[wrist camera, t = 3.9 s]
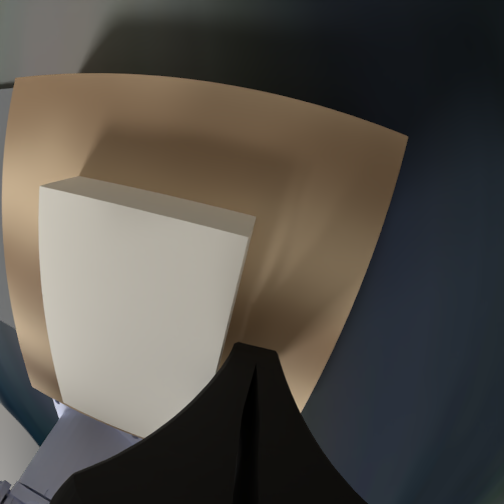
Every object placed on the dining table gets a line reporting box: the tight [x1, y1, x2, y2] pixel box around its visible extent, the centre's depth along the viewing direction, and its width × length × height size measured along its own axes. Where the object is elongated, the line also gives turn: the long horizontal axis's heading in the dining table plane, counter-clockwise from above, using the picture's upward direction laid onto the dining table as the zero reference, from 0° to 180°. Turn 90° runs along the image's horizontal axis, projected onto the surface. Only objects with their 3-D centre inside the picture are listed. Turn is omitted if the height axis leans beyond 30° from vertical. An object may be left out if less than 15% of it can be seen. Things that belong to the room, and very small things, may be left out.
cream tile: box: [38, 176, 256, 438], centre depth 9 cm, size 9×6×2 cm, turn 167°
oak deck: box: [2, 73, 408, 439], centre depth 12 cm, size 16×14×4 cm
